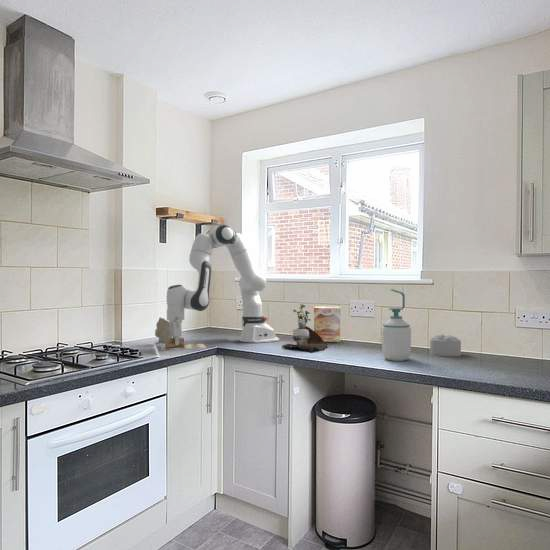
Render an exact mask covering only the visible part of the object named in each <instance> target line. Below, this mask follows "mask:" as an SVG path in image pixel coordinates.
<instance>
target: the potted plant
mask: <svg viewBox="0 0 550 550" xmlns="http://www.w3.org/2000/svg"><path fill="white" fill-rule="evenodd" d="M299 305H300V307H299V309H300V310H299V311H298V310H296V309H293V310H292V311H293V313H296V316H297V322H298V323H297V326H298V328H296V329H292V330H293V331H292V339H293V341H295V342H296V344H294V343H293V344H292V343H286V344H283V345H282V346H281V348H284V349H285V350H286V351H287V350H288V349H289V348H291V347H292V348H293V349H294V348H296V347H298V348H299V349H301V350H304V351H306V350H307V349H309V351H310V352H313V349H314V348H315V349H317V350H320V351H323V350H325V349H327V348H328V346H329V344H328V343H327V342H323V340H322V338H321V337H320V336H319V335H318V334H317V333H316V332H314V329H313V328H311V327H309V326H307V323H308V321H311V319H310V318H309V314H311V312H309V311H308V310H305V311H304V310H303V309H304V308H306V305H305V304H299Z"/></svg>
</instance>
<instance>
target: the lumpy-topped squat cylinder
mask: <svg viewBox="0 0 550 550" xmlns="http://www.w3.org/2000/svg"><path fill="white" fill-rule="evenodd" d="M429 339H430V340H429V349H430V350H429V354H430V355H431V356H435V357H436V356H438V357H461V356H462V343H461V339H459V338H458V337H456V336H453V335H446V336H445V335H444V334H440V335H435V336H434V337H432V338H429Z"/></svg>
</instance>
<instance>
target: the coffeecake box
mask: <svg viewBox="0 0 550 550" xmlns="http://www.w3.org/2000/svg"><path fill="white" fill-rule="evenodd" d="M341 310H342V309H341V306H314V307H313V331H314V332H316V333H317V334H318V335H319V336H320V337H321V338H322V340H323V342H326V343H327V342H329V343H332V342H333V343H334V342H335V343H340V342H341V339H342V338H341V336H342V335H341V334H342V333H341V332H342V331H341V329H342V328H341V320H342V319H341V315H342V314H341Z"/></svg>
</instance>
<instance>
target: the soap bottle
mask: <svg viewBox="0 0 550 550" xmlns="http://www.w3.org/2000/svg"><path fill="white" fill-rule="evenodd" d="M390 291H391V292H393V293H398V294H400V295H401V296H402V307H389V308H388V310H389V311H391V312H392V313H393V315H390V316H389V319H388V320H387V321H385V322H384V324H382V327H381V351H382V355H383V357H384V358H385V359H386V360H388V361H393V362H404V361H407V360H408V359H410V356H411V353H412V329H411V327H410V324H409V323H407V322H406V321H404V320H403V316H401V315H399V313H401V311H402V310H404V309H405V308H406V307H405V304H406V298H405V295H406V294H405V293H404V292H402V291H399V290H397V289H394V288H393V289H392V288H390Z"/></svg>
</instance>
